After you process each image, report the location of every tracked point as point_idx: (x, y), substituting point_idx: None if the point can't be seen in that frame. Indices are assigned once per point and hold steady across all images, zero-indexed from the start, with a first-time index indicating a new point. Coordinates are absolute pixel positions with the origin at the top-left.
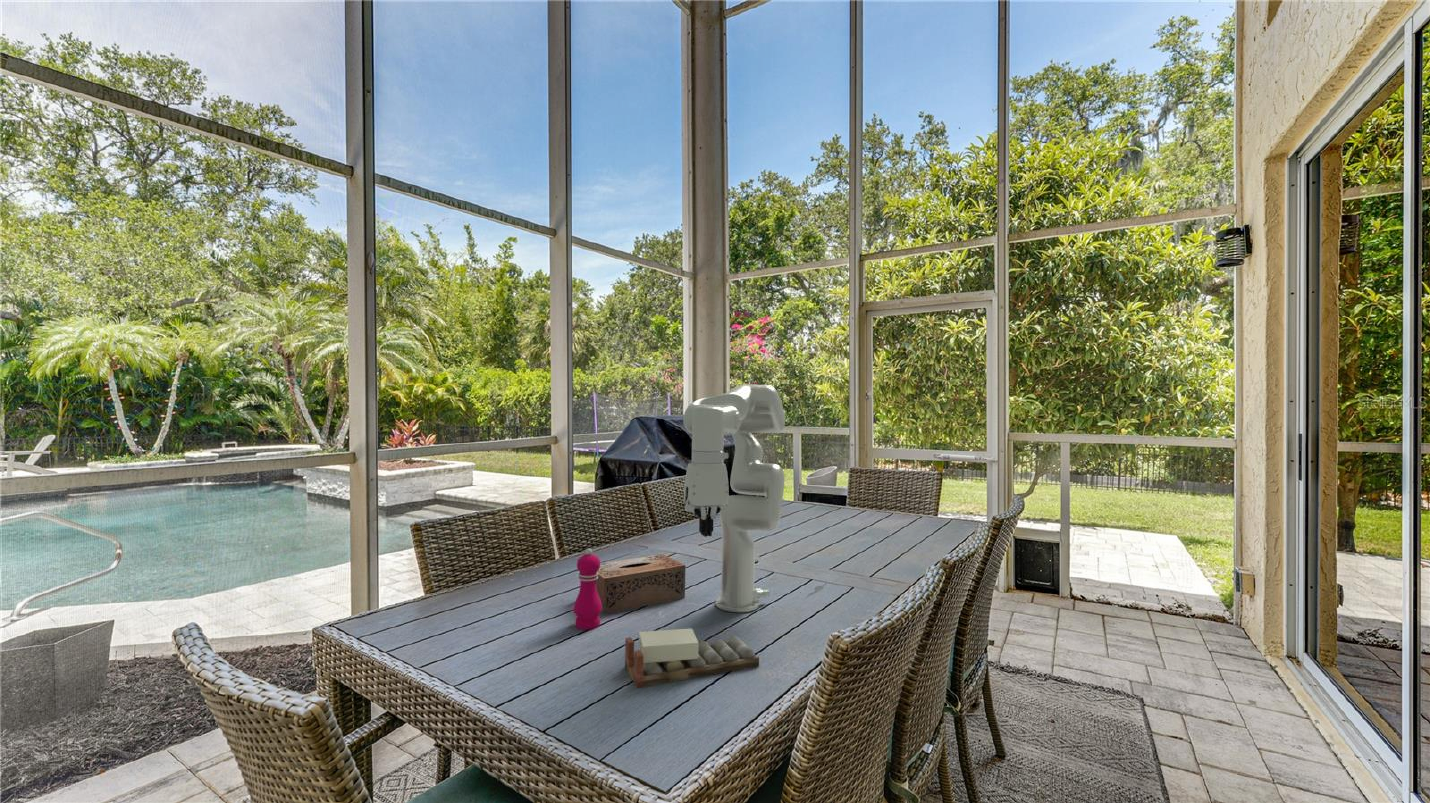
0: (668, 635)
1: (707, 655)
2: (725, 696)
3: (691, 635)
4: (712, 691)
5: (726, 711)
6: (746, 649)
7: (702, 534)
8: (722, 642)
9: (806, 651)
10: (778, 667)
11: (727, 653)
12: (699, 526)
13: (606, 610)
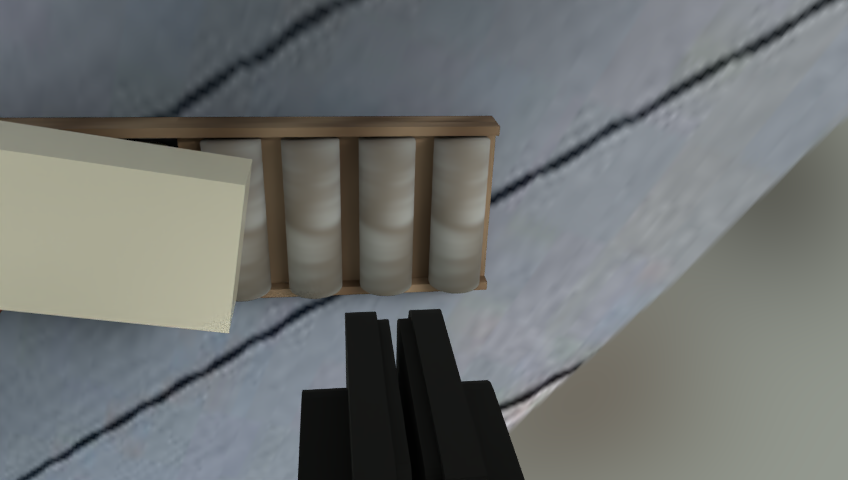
0: (107, 227)
1: (291, 255)
2: (284, 407)
3: (219, 260)
4: (255, 373)
5: (256, 469)
6: (453, 277)
7: (346, 369)
8: (390, 192)
9: (703, 224)
10: (535, 299)
11: (371, 274)
12: (301, 434)
13: None
